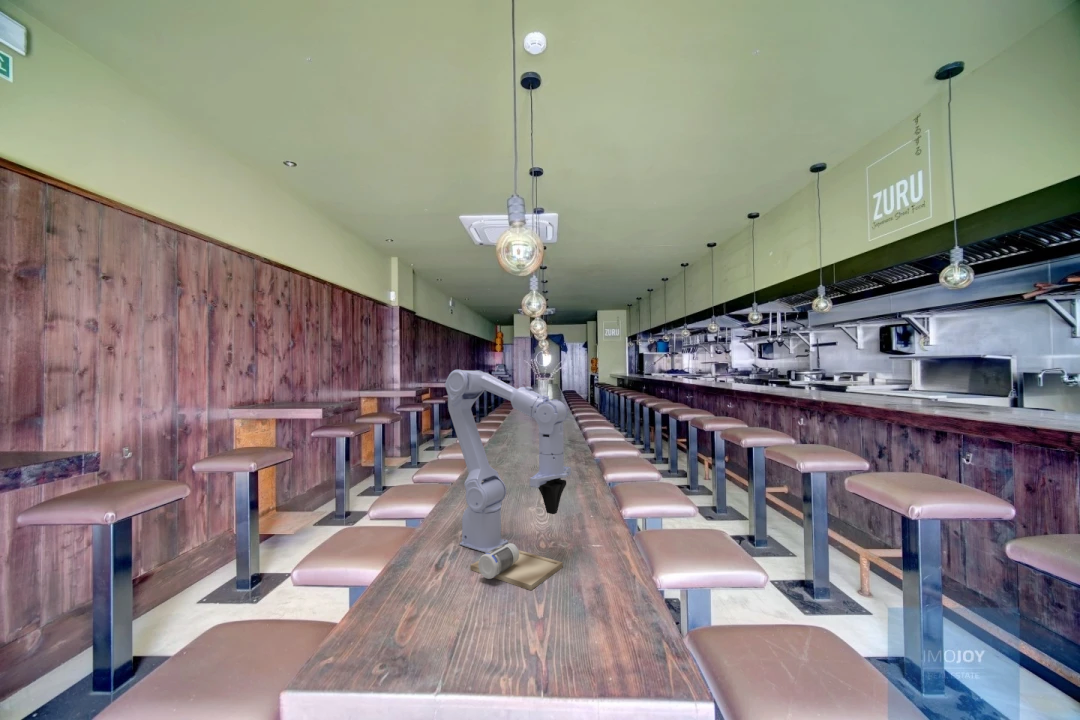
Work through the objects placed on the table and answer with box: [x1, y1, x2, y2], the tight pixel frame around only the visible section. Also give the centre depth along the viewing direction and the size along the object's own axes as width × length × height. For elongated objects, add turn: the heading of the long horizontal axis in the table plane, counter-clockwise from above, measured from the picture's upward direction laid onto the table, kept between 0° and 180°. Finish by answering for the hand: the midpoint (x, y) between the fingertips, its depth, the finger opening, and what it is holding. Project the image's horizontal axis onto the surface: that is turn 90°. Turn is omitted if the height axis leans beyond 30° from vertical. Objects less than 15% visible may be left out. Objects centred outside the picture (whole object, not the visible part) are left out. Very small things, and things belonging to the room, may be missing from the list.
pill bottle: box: [478, 542, 519, 580], centre depth 86 cm, size 5×5×8 cm
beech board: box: [469, 549, 564, 591], centre depth 89 cm, size 16×12×1 cm
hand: (551, 512), depth 94 cm, fingers closed
